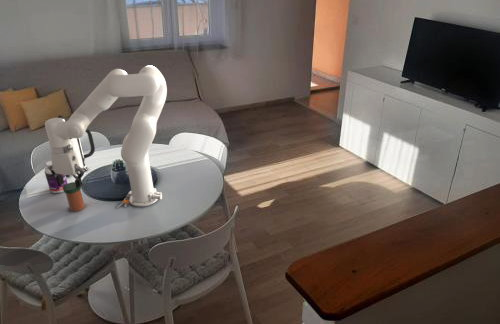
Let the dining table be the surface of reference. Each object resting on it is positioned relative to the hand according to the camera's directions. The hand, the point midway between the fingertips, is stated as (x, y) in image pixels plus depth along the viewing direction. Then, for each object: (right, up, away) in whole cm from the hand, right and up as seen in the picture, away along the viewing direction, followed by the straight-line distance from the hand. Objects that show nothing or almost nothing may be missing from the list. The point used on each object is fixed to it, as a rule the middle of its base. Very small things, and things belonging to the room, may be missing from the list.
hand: (70, 185), depth 173 cm
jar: (+1, -10, +5) cm, 11 cm away
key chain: (+21, -7, +10) cm, 25 cm away
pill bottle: (-14, -3, +20) cm, 24 cm away
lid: (0, -1, 0) cm, 1 cm away
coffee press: (-14, +6, +38) cm, 41 cm away
